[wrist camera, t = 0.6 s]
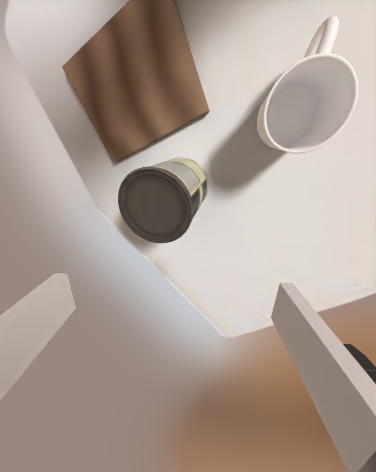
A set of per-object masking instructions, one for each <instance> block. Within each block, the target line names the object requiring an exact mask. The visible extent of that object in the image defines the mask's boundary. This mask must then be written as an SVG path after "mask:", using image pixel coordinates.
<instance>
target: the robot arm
mask: <svg viewBox="0 0 376 472" xmlns="http://www.w3.org/2000/svg"><path fill="white" fill-rule="evenodd" d="M75 309H76V306H75V303H74V298H73V295H72V291H71V287H70V283H69V279H68V275H67V274H64V273H55V274H54V275H52V276H51V277H49V278H48V279H47V280H46V281H44V282H43V283H42V284H40V285H39V286H38V287H37V288H35V289H34V290H33V291H31V292H30V293H29V294H28V295H26V296H25V297H24V298H23V299H21V300H20V301H19V302H17V303H16V304H15V305H14V306H12V307H11V308H10V309H8V310H7V311H6V312H5V313H3V314H2V315H1V316H0V400H1V399H2V398H3V396H4V395H5V394H6V393H7V391H8V390H9V389H10V388H11V387H12V385H13V384H14V383H15V382H16V380H17V379H18V378H19V377H20V376H21V374H22V373H23V372H24V371H25V370H26V368H27V367H28V366H29V365H30V363H31V362H32V361H33V360H34V359H35V357H36V356H37V355H38V354H39V353H40V351H41V350H42V349H43V348H44V346H45V345H46V344H47V343H48V342H49V340H50V339H51V338H52V337H53V336H54V334H55V333H56V332H57V331H58V330H59V328H60V327H61V326H62V324H63V323H64V322H65V321H66V320H67V318H68V317H69V316H70V315H71V314H72V312H73V311H74V310H75ZM271 319H272V321H273V323H274V325H275V326H276V329H277V331H278V333H279V335H280V337H281V338H282V341H283V343H284V344H285V347H286V349H287V350H288V353H289V355H290V357H291V359H292V360H293V362H294V365H295V367H296V369H297V371H298V373H299V375H300V376H301V379H302V381H303V382H304V384H305V386H306V389H307V391H308V393H309V395H310V397H311V399H312V401H313V403H314V405H315V407H316V408H317V411H318V413H319V415H320V416H321V419H322V421H323V423H324V424H325V427H326V429H327V430H328V432H329V435H330V437H331V439H332V441H333V443H334V445H335V447H336V448H337V451H338V453H339V454H340V457H341V458H342V461H343V463H344V465H345V466H346V468H347V470H348V472H376V367H375V366H374V365H373V364H372V363H371V361H370V360H369V359H368V358H367V357H366V356H365V355H364V354H362V353H361V352H360V351H359V350H357V349H356V348H355V347H354V346H352V345H351V344H342V343H341V341H340V340H339V339H338V338H337V337H336V335H335V334H334V333H333V332H332V331H331V329H329V327H328V326H327V325H326V323H325V322H324V321H323V320H322V318H321V317H320V316H319V315H318V314H317V312H316V311H315V310H314V309H313V308H312V306H311V305H310V304H309V303H308V301H307V300H306V299H305V298H304V297H303V295H302V294H301V293H300V292H299V291H298V289H297V288H296V287H295V286H294V285H293V284H291V283H280V285H279V289H278V293H277V296H276V300H275V304H274V308H273V312H272V316H271Z"/></svg>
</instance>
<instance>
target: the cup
mask: <svg viewBox="0 0 376 472" xmlns="http://www.w3.org/2000/svg"><path fill="white" fill-rule="evenodd" d="M338 26H339V20H338V18H337V17H336V16H331V17H329V18H327V19H326V20H325V21H324V22H323V23H322V25H321V26H320V27H319V29H318V30H317V32H316V33H315V35H314V37H313V39H312V41H311V43H310V45H309V47H308V49H307V52H306V54H305V56H304V58H303V59H301V60H300V61H298V62H296V63H295V64H293V65H292V66H291V67H289V68H288V69H287V70H286V71H285V72H284V73H283V74H282V75H281V76H280V77H279V79H278V80H277V81H276V83H275V84H274V85H273V87H272V89H271V90H270V92H269V93H268V95H267V96H266V98H265V100H264V101H263V103H262V105H261V107H260V109H259V112H258V116H257V130H258V134H259V136H260V138H261V140H262V141H263V142H264V143H265V144H266V145H268V146H269V147H272V148H274V149H278V150H281V151H284V152H288V153H305V152H309V151H312V150H315V149H317V148H319V147H321V146H323V145H325V144H326V143H328V142H329V141H330V140H332V139H333V138H334V137H335V136H336V135H337V134H338V133H339V132H340V131H341V130H342V129H343V127H344V126H345V125H346V123H347V122H348V120H349V118H350V117H351V115H352V113H353V110H354V108H355V105H356V101H357V96H358V80H357V76H356V73H355V71H354V69H353V67H352V66H351V64H350V63H349V62H348V61H347V60H345V59H344V58H342V57H340V56H338V55H335V54H330V52H331V49H332V47H333V44H334V41H335V38H336V35H337V31H338Z"/></svg>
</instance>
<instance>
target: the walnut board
mask: <svg viewBox="0 0 376 472" xmlns="http://www.w3.org/2000/svg"><path fill="white" fill-rule="evenodd" d="M62 67H63V69H64V71H65V73H66V75H67V77H68V79H69V80H70V82H71V84H72V86H73V88H74V90H75V92H76V93H77V95H78V97H79V99H80V101H81V103H82V105H83V107H84V108H85V110H86V112H87V114H88V116H89V118H90V120H91V121H92V123H93V125H94V127H95V129H96V131H97V133H98V135H99V136H100V138H101V140H102V142H103V144H104V146H105V148H106V149H107V151H108V153H109V155H110V157H111V159H112V161H113V163H115V162H118V161H120V160H122V159H124V158H126V157H127V156H129V155H131V154H133V153H135V152H136V151H138V150H140V149H142V148H144V147H146V146H147V145H149V144H151V143H153V142H155V141H157V140H158V139H160V138H162V137H164V136H166V135H168V134H169V133H171V132H173V131H175V130H177V129H178V128H180V127H182V126H184V125H186V124H188V123H189V122H191V121H193V120H195V119H197V118H199V117H200V116H202V115H204V114H206V113H208V112H210V111H209V108H208V105H207V102H206V99H205V96H204V92H203V89H202V86H201V83H200V80H199V77H198V73H197V70H196V67H195V64H194V61H193V58H192V54H191V51H190V48H189V45H188V42H187V39H186V36H185V32H184V29H183V26H182V23H181V20H180V17H179V13H178V10H177V7H176V4H175V1H174V0H130V1H129V2H128V3H127V4H126V5H125V6H123V7H122V8H121V9H120V10H119V11H118V12H117V13H116V14H115V15H114V16H113V17H112V18H111V19H110V20H109V21H108V22H107V23H106V24H105V25H104V26H103V27H102V28H101V29H100V30H99V31H98V32H97V33H96V34H95V35H94V36H93V37H92V38H91V39H90V40H89V41H88V42H87V43H86V44H85V45H84V46H83V47H82V48H81V49H80V50H79V51H78V52H77V53H76V54H75V55H74V56H73V57H72V58H71V59H70V60H69V61H68V62H67V63H65V64H64V65H63V66H62Z"/></svg>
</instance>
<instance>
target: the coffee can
mask: <svg viewBox="0 0 376 472" xmlns="http://www.w3.org/2000/svg"><path fill="white" fill-rule="evenodd" d="M207 191H208V180H207V176H206V174H205V172H204V170H203V169H202V168H201V166H200V165H199V164H197V163H196V162H195V161H193V160H191V159H188V158H183V157H181V158H175V159H172V160H170V161H166V162H163V163H160V164H157V165H153V166H150V167H143V168H139V169H136V170H134V171H132V172H131V173H130V174H128V175H127V176H126V177H125V179H124V180H123V182H122V183H121V186H120V189H119V194H118V204H119V209H120V212H121V215H122V217H123V219H124V221H125V222H126V224H127V225H128V226H129V228H130V229H131V230H132V231H133V232H134V233H136V234H137V235H139V236H140V237H142V238H143V239H146V240H148V241H151V242H155V243H168V242H172V241H175V240H177V239H178V238H180V237H181V236H182V235H183V234H184V233H185V232H186V231H187V229H188V228H189V226H190V223H191V221H192V219H193V217H194V215H195V214H196V212H197V210H198V209H199V207H200V205H201V203H202V202H203V200H204V199H205V197H206V195H207Z"/></svg>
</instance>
